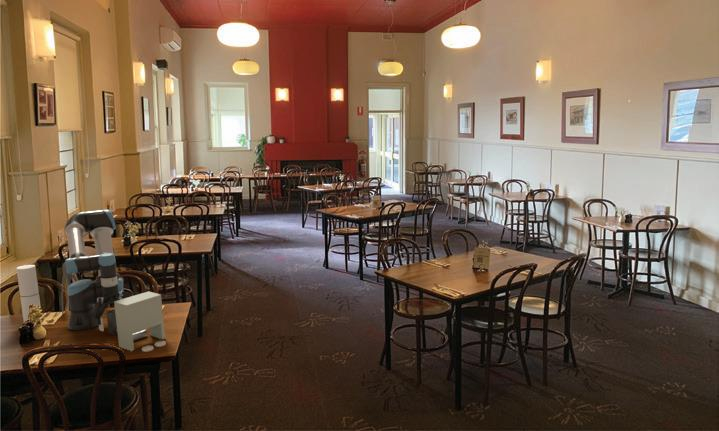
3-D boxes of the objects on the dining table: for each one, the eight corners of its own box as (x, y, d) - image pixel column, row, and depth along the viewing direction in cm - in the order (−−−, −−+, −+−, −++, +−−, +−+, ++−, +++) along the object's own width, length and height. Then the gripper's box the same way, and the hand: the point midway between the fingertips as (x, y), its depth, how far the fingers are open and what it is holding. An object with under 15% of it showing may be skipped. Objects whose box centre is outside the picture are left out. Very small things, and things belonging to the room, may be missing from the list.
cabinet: (119, 346, 272) (114, 301, 268) (152, 334, 286) (148, 291, 282) (131, 351, 266) (126, 305, 262) (165, 338, 280) (160, 294, 277)
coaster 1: (140, 349, 268) (140, 347, 268) (151, 346, 271) (151, 344, 271) (144, 353, 265) (144, 350, 264) (155, 350, 268) (155, 347, 267)
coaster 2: (152, 345, 273) (152, 343, 273) (161, 342, 277) (161, 339, 276) (158, 348, 270) (158, 345, 270) (168, 344, 274) (167, 342, 274)
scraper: (100, 335, 286) (97, 314, 284) (124, 327, 297) (122, 307, 295) (122, 344, 275) (120, 322, 273) (147, 335, 285) (145, 314, 283)
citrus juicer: (71, 319, 312) (65, 264, 306) (55, 318, 313) (48, 264, 308) (85, 312, 323) (79, 259, 317) (69, 311, 324) (63, 259, 319)
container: (21, 321, 310) (14, 267, 305) (39, 317, 316) (32, 263, 311) (26, 325, 304) (19, 270, 299) (44, 321, 310) (37, 266, 305)
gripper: (89, 292, 274) (94, 335, 278) (136, 279, 293) (140, 320, 297) (81, 290, 278) (86, 332, 282) (128, 277, 298) (132, 317, 302)
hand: (114, 326), depth 290 cm, fingers open, 13 cm apart
